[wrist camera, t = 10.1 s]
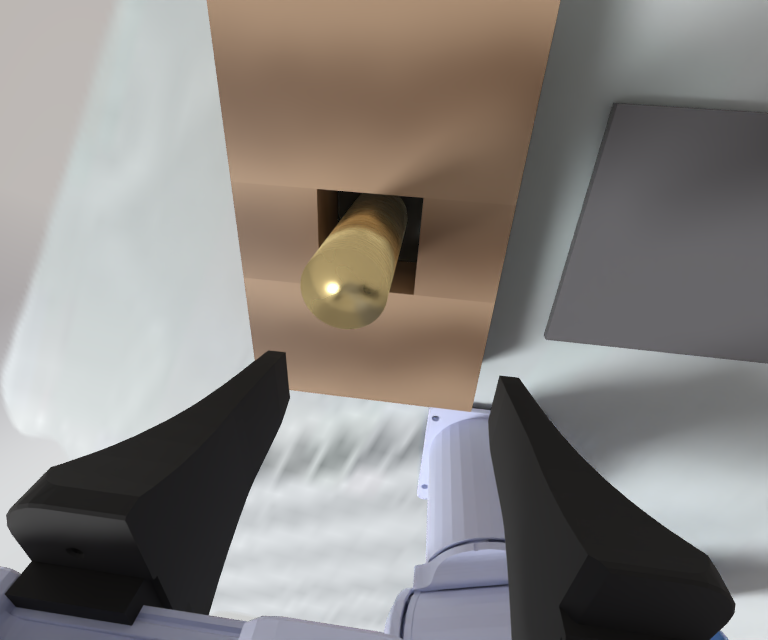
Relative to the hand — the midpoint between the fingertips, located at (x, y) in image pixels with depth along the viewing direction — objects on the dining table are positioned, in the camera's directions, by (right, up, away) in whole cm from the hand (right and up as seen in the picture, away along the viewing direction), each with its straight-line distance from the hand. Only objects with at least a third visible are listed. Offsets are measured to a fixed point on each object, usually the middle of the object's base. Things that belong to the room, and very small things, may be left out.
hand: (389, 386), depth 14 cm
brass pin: (0, +8, +8) cm, 11 cm away
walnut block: (0, +8, +8) cm, 11 cm away
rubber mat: (+15, +6, +7) cm, 18 cm away
